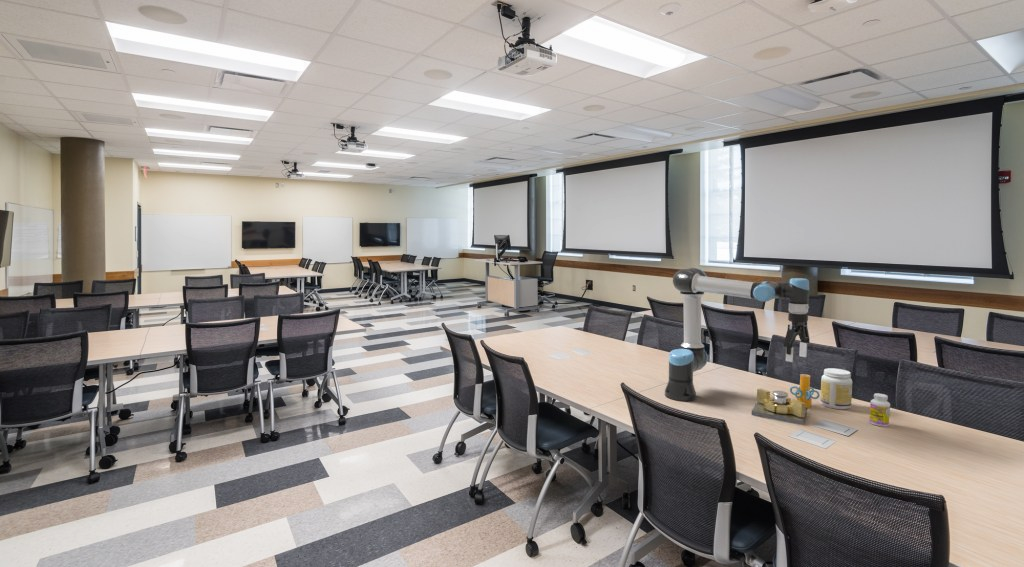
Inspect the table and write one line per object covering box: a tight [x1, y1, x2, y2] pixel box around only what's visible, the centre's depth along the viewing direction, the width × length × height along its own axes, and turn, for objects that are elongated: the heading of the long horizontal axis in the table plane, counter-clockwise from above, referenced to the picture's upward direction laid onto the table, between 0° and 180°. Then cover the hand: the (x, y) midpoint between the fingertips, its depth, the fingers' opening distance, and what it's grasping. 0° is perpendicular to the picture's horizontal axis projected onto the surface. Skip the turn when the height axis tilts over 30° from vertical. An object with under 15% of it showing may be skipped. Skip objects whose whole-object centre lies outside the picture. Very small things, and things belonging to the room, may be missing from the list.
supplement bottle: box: [868, 392, 891, 428], centre depth 199 cm, size 7×7×13 cm
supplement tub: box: [820, 367, 853, 410], centre depth 221 cm, size 12×12×17 cm
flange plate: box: [750, 390, 808, 426], centre depth 212 cm, size 20×18×10 cm
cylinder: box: [789, 373, 821, 409], centre depth 221 cm, size 12×10×15 cm
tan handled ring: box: [756, 388, 806, 418], centre depth 212 cm, size 22×12×6 cm, turn 23°
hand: (796, 359), depth 211 cm, fingers open, 13 cm apart
